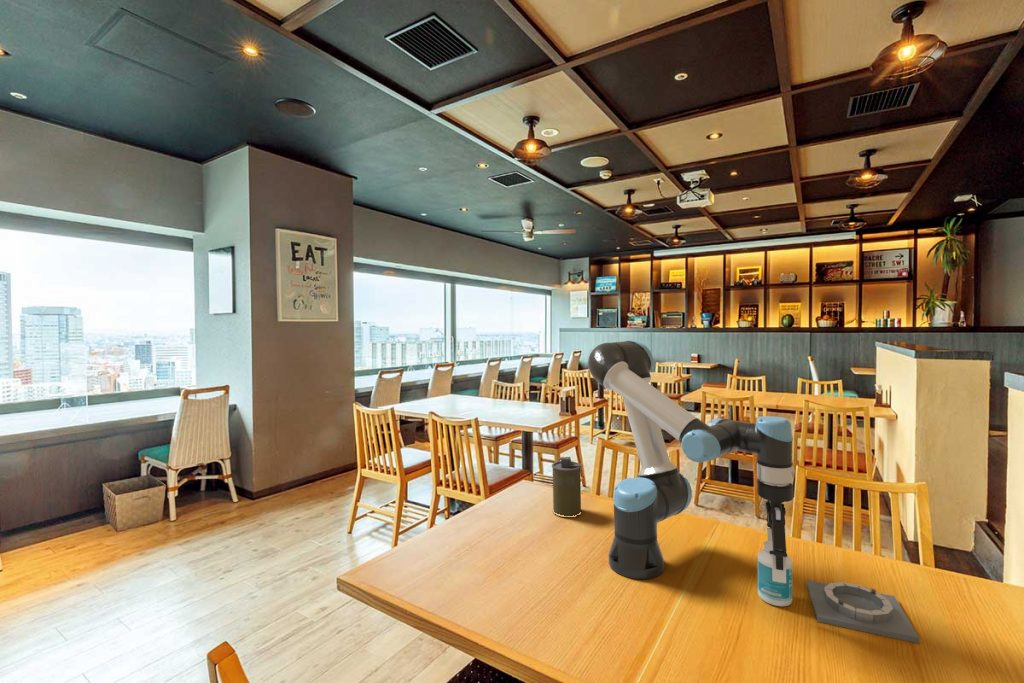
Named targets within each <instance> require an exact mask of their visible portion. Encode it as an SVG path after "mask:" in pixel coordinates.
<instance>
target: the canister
mask: <svg viewBox="0 0 1024 683" xmlns="http://www.w3.org/2000/svg"><path fill="white" fill-rule="evenodd" d="M582 467H583V463H578V462H577V461H572V459H571V456H561V457H559V458H558V461H556V462H554V463H552V464H551V468H552V501H553V502H552V504H553V505H552V506H553V509H552V511H553V510H554V512H555V513H557V514H560V515H564V516H573V515H574V516H575V515H577V514H579V513H580V512H581V511H582V496H583V491H584V490H583V488H581V487H582V486H581V485H582V484H581V482H582V478H581V468H582ZM581 490H582V491H581ZM581 494H582V496H581Z"/></svg>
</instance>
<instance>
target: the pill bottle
mask: <svg viewBox="0 0 1024 683" xmlns="http://www.w3.org/2000/svg"><path fill="white" fill-rule="evenodd" d="M769 551H773V544H772V541H767V540H766V541H764V542H763V549H761V550H759V551H758V554H757V595H758V597H759V598H760V599H761V600H762V601H763V602H765V603H767V604H769V605H773V606H776V607H788V606H790V605H791V604H792V603H793V559H792V558H791V557H790V556H789V555H788V554H787V557H786V583H781V582H775V581H773V579H772V554H770V553H769Z"/></svg>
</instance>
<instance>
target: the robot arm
mask: <svg viewBox="0 0 1024 683" xmlns="http://www.w3.org/2000/svg"><path fill="white" fill-rule="evenodd" d="M587 365H588V370H589V373H590V375H591V376H592V378H593V379H594V380H595V381H596V382H597V383H598V384H599V385H600V386H602V387H603V388H604V389H605V390H607V391H614V392H615V393H617V394H618V395H619V396H620V397H622V400H623V401H622V402H623V404H624V408H625V411H626V415H627V420H628V422H629V425H630V426H629V427H630V429H631V430H630V431H631V433H632V438H633V441H634V445H635V448H636V452H637V455H638V459H639V462H640V466H641V468H640V470H639V472H638V476H635V477H626V478H624V479H622V480H620V481H619V482H617V483H616V485H615V487H614V490H613V500H612V501H613V517H614V518H613V520H614V525H613V526H614V536H613V540H612V543H611V546H610V548H609V552H608V565H609V567H610V568H611V569H612V570H613V571H614V572H615V573H616V574H619V575H620V576H623V577H626V578H630V579H636V580H650V579H654V578H657V577H659V576H661V575H662V573H663V572H664V569H665V559H664V556H663V554H662V550H661V548H660V544H659V542H658V523H660V522H662V521H664V520H667V519H669V518H671V517H673V516H677V515H679V514H681V513H682V512H683V511H685V510H686V509H687V508H688V507H689V506H690V505H691V502H692V498H693V490H692V487H691V484H690V482H689V480H688V478H686V477H685V476H684V474H682V473H681V472H679V470H678V466H677V465H676V464H674V463H672V462H671V461H670V458H669V453H668V450H667V448H666V447H667V446H666V444H665V440H664V437H663V433H662V429H663V430H664V431H665V432H667V433H668V434H669V435H670V436H672V437H673V438H674V439H676V440H677V441H678V442H680V444H681V450H682V451H683V453H684V455H685V457H686V458H688V459H689V460H690V461H692V462H695V463H705V462H710V461H713V460H716V459H717V458H719V457H722V456H724V455H727V454H731V453H732V452H733V453H734V452H736V451H737V452H743V453H748V454H755V455H756V478H757V479H758V480H757V495H758V496H759V498H761V499H764V500H766V501H765V510H766V518H765V520H766V526H767V527H766V528H767V529H766V530H767V531H766V532H767V535H766V536H767V540H766V541H772V544H773V551H769V553H770V554H772V579H773V581H775V582H781V583H786V557H787V555H788V552H787V541H786V540H787V539H786V527H785V526H786V512H787V511H786V507H785V502H786V503H788V502H791V501H792V500H793V498H794V485H793V484H792V483H793V482H794V480H793V476H794V475H793V474H795V473H796V469H794V468H793V441H794V440H793V439H794V437H793V432H792V431H793V430H792V423H791V422H790V420H789V419H787V418H785V417H781V416H772V415H771V416H769V415H765V416H759V417H757V418H756V422H754V423H753V422H746V421H739V420H735V419H734V420H733V419H729V418H713V419H712V420H711V421H710V422H709V423H708V424H707V423H705V422H703V421H702V420H701V419H700V418H698V417H696V416H695V415H693V414H692V413H691V412H689V411H688V410H687V409H685V408H684V407H682V406H681V405H679V403H677V402H675V401H674V400H672V399H671V398H670V397H669V396H667V395H666V394H665V393H663V392H662V391H660V390H659V389H657V388H656V387H654V386H653V385H652V384H650V381H651V379H652V376H651V371H652V369H653V366H654V357H653V354H652V352H651V350H650V349H649V348H648V346H647V345H646V344H644V343H642V342H640V341H634V340H633V341H632V340H625V341H615V342H603V343H600V344H598V345H597V346H596V347H594V348H593V349H592V351H591V352H590V353H589V356H588V361H587ZM661 428H662V429H661Z"/></svg>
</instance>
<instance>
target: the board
mask: <svg viewBox="0 0 1024 683" xmlns="http://www.w3.org/2000/svg"><path fill="white" fill-rule="evenodd" d="M828 584H829V583H825V582H820V581H815V580H810V579H806V587H807V590H808V595H809V597H810V600H811V604H812V606H813V610H814V614H815V618H816V620H817V622H818V623H823V624H827V625H832V626H835V627H836V626H837V627H842V628H846V629H851V630H854V631H860V632H865V633H868V634H873V635H879V636H884V637H889V638H891V639H898V640H902V641H906V642H911V643H915V644H916V643H917V644H920V636H919V635H918V633H917V631H916V629H915V628H914V627H913V624H912V623H911V622H910V620H909V618H908V616H907V614H906V613H905V612H904V610H903V608H902V606H901V605H900V603H899V601H898V599H897V598H896V596H895V595H891V594H887V593H886V594H885V593H880V592H878V593H879V594H881V595H882V596H884V597H885V598H887V599H888V600H889V602H890V603H891V605H892V607H893V617H892V619H891V620H890V621H889V622H888V623H878V624H874V623H873V624H872V623H867V622H862V621H857V620H854V619H852V618H849V617H847V616H845V615H843V614H840V613H838V612H837V611H835V610H834V609H833V608H832V607H830V606H829V605H828V604H827V603H826V600H825V597H824V587H826V586H827V585H828ZM835 597H836V598H838V599H841V600H843V601H844V603H845V604H848V605H850V606H852V607H855V608H859V609H864V610H869V611H872V610H881V607H879V606H878V605H876V604H875V603H873V602H872V601H870V600H868V599H865V598H863V597H860V596H856V595H851V594H836V595H835Z"/></svg>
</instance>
